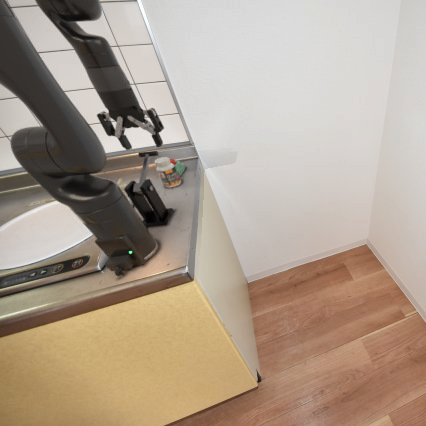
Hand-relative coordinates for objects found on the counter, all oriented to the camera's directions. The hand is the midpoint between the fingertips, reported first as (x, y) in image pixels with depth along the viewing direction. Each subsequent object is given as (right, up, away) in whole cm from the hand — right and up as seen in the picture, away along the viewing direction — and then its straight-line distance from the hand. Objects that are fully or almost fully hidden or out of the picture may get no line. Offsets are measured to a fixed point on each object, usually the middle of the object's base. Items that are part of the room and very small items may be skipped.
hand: (144, 147), depth 70 cm
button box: (-6, -3, +26) cm, 27 cm away
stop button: (-7, 0, +23) cm, 24 cm away
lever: (+1, -8, 0) cm, 8 cm away
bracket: (+2, -21, +3) cm, 22 cm away
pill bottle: (-3, -9, +19) cm, 21 cm away
